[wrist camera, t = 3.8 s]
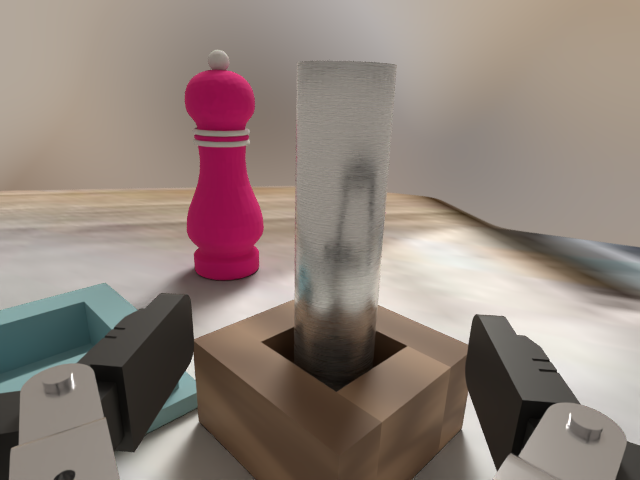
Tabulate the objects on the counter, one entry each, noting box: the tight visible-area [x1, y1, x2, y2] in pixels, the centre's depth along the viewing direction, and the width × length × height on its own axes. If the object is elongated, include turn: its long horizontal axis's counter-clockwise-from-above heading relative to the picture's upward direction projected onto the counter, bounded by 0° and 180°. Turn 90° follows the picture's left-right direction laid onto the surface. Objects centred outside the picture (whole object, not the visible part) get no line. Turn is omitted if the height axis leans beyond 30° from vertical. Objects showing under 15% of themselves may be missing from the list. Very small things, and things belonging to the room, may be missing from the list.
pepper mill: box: [185, 50, 264, 280], centre depth 40 cm, size 7×7×20 cm
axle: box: [294, 61, 397, 392], centre depth 20 cm, size 4×4×18 cm
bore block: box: [194, 299, 468, 480], centre depth 23 cm, size 10×10×5 cm
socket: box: [0, 283, 198, 434], centre depth 24 cm, size 12×12×4 cm
